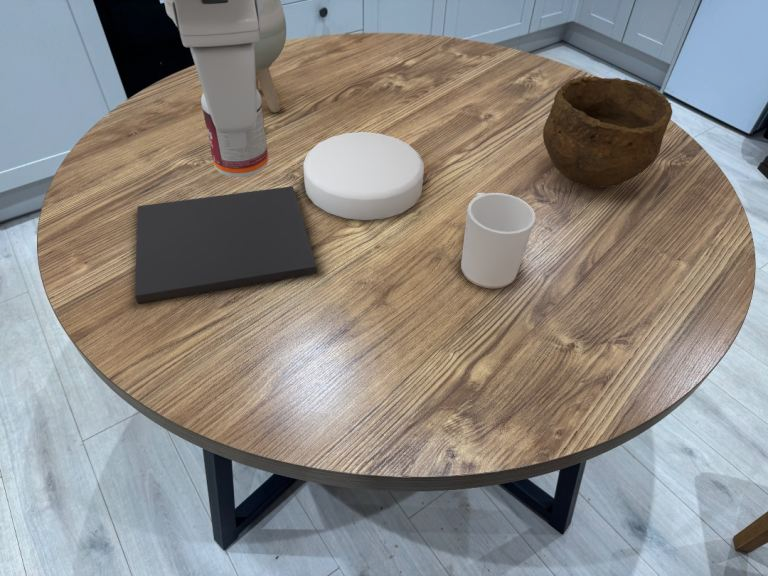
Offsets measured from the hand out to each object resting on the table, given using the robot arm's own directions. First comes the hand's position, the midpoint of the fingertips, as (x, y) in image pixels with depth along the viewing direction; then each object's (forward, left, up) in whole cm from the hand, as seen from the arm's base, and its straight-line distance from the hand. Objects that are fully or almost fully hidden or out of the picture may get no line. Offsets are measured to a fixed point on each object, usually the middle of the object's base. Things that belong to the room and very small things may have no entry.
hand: (235, 127), depth 62 cm
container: (+20, +20, -24) cm, 37 cm away
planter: (+5, +52, -24) cm, 58 cm away
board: (-4, +10, -24) cm, 26 cm away
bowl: (+59, +13, -24) cm, 65 cm away
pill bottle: (0, 0, -5) cm, 5 cm away
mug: (+32, -4, -24) cm, 40 cm away
